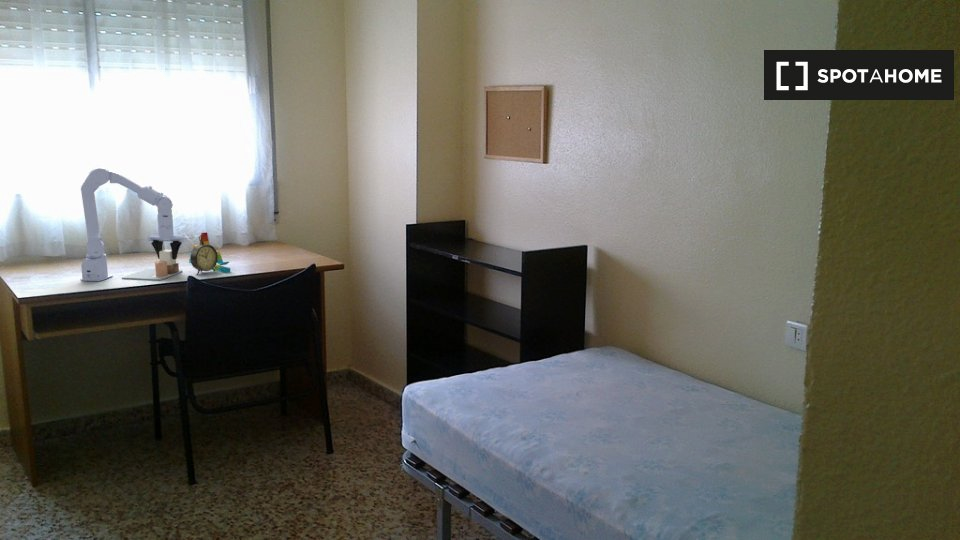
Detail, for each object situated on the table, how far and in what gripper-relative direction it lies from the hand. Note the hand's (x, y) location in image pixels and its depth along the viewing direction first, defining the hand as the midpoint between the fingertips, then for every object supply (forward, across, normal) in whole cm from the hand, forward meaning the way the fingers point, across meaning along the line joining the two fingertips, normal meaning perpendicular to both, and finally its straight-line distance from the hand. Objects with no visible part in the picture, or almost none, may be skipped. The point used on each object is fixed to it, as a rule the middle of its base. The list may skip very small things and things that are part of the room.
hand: (167, 258), depth 320 cm
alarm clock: (+6, -13, -5) cm, 15 cm away
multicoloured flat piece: (+7, -9, -17) cm, 21 cm away
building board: (+6, +4, +4) cm, 9 cm away
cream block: (+2, 0, 0) cm, 2 cm away
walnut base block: (+6, 0, 0) cm, 6 cm away
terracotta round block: (+6, -1, +7) cm, 9 cm away
